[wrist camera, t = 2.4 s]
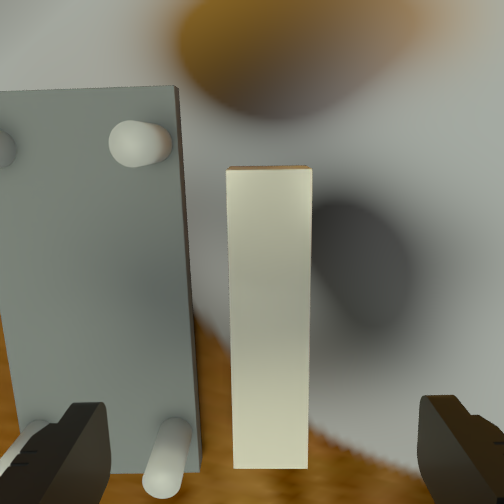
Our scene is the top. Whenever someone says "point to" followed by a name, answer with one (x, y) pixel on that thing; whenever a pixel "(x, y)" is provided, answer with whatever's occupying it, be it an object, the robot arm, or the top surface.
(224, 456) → the top surface
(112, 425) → the grey pegged tray
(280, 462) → the clay strip
